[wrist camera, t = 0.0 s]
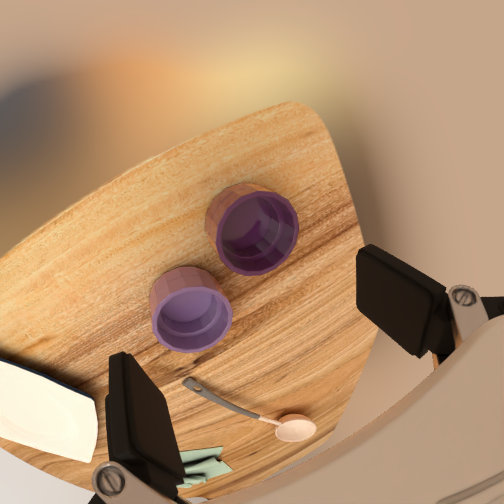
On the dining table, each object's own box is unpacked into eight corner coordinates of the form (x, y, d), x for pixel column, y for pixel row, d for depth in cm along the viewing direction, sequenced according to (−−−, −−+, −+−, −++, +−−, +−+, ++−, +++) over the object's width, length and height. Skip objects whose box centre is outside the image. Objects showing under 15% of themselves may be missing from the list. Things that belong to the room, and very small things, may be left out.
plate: (94, 452, 29) (95, 466, 26) (-17, 418, 19) (-19, 431, 16) (103, 378, 24) (103, 396, 22) (-47, 324, 14) (-56, 338, 12)
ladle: (291, 433, 43) (300, 452, 39) (169, 370, 32) (169, 396, 28) (317, 415, 43) (328, 433, 38) (200, 343, 32) (204, 368, 28)
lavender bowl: (137, 280, 22) (138, 306, 19) (206, 252, 24) (219, 273, 20) (166, 334, 25) (172, 362, 22) (227, 309, 27) (241, 334, 23)
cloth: (131, 448, 31) (133, 460, 29) (254, 441, 41) (259, 452, 39) (129, 486, 36) (131, 495, 34) (223, 481, 46) (227, 489, 44)
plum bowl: (193, 197, 21) (204, 209, 18) (267, 172, 23) (291, 180, 20) (216, 266, 25) (230, 288, 21) (281, 240, 26) (303, 256, 23)
